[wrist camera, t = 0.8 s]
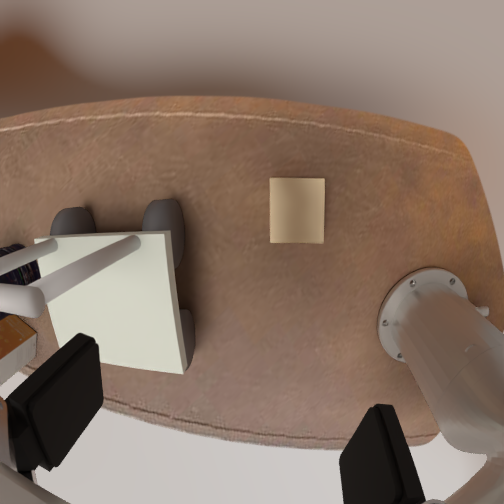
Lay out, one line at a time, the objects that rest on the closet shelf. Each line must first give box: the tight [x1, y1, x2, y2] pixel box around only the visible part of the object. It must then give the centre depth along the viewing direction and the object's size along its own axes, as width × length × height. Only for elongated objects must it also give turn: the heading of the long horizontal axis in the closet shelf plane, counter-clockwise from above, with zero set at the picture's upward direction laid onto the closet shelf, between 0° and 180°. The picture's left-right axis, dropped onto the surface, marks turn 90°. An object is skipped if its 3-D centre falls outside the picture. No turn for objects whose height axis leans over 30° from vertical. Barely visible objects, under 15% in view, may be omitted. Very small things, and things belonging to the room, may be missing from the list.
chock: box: [270, 178, 325, 243], centre depth 30 cm, size 5×6×4 cm
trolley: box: [0, 199, 195, 374], centre depth 25 cm, size 16×19×23 cm
